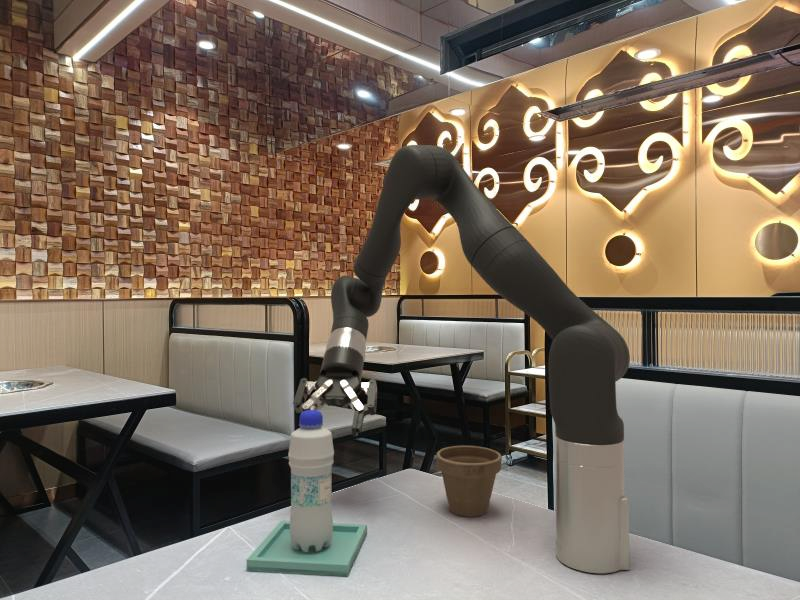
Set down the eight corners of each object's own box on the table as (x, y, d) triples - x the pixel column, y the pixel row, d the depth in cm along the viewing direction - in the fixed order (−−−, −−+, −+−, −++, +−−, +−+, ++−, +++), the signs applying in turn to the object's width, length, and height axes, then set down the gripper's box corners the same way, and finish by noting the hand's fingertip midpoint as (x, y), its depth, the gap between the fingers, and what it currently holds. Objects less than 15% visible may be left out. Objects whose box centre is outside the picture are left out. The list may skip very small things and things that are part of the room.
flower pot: (507, 523, 93) (507, 462, 93) (438, 523, 93) (438, 462, 93) (496, 499, 105) (495, 445, 105) (434, 499, 105) (434, 445, 105)
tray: (366, 534, 89) (366, 524, 89) (347, 576, 75) (347, 565, 75) (280, 530, 91) (280, 520, 91) (246, 570, 77) (246, 559, 77)
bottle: (325, 558, 79) (325, 415, 80) (280, 554, 81) (280, 413, 81) (340, 538, 86) (340, 406, 86) (298, 535, 87) (298, 405, 87)
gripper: (303, 344, 104) (282, 419, 93) (379, 344, 102) (368, 421, 91) (311, 369, 109) (292, 443, 98) (384, 370, 108) (374, 446, 96)
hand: (329, 432), depth 94 cm, fingers open, 8 cm apart
